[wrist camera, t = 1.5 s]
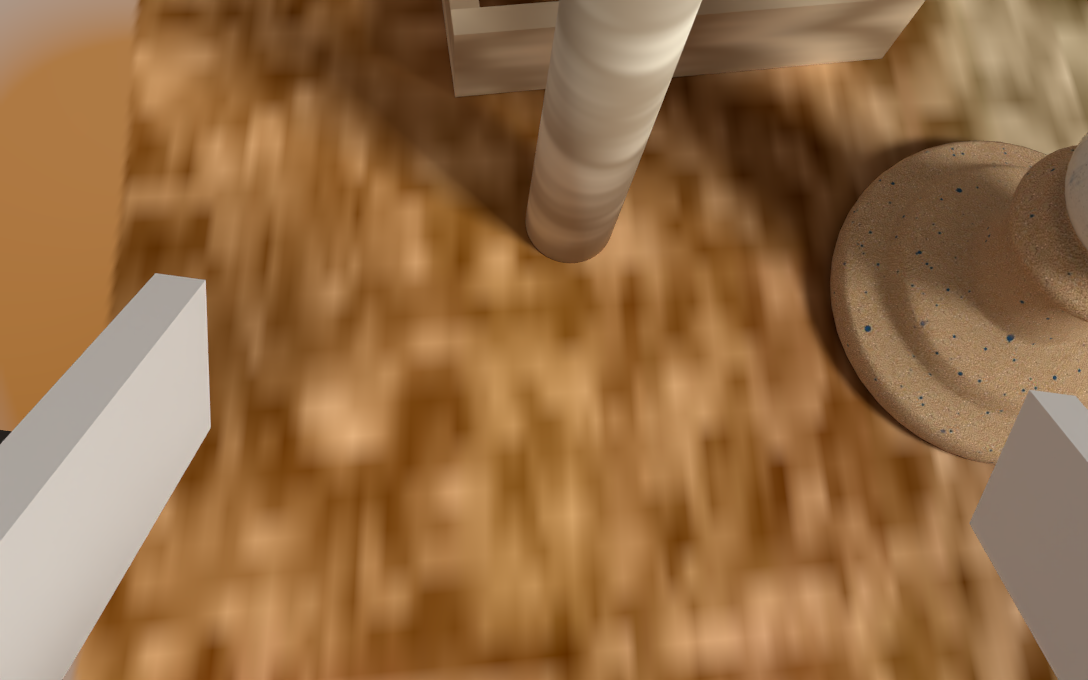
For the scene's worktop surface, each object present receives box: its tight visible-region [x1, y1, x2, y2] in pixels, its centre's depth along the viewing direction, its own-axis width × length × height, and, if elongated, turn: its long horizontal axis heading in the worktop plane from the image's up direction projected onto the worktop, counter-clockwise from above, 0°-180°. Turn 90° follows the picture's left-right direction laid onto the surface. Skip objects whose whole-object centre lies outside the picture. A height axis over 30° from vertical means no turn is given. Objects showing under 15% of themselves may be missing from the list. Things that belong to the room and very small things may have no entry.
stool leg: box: [525, 0, 702, 263], centre depth 27 cm, size 3×3×16 cm
